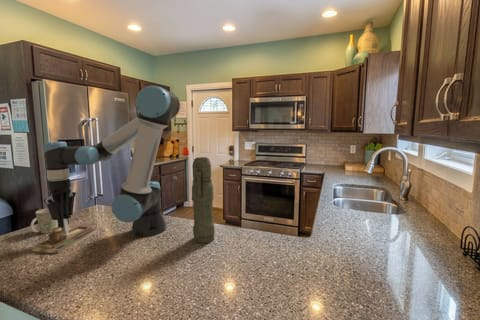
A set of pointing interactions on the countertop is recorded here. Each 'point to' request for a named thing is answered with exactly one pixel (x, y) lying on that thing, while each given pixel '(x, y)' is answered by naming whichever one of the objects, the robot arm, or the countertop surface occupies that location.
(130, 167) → the robot arm
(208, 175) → the green carved statue
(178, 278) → the countertop surface
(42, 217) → the mug
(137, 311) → the countertop surface
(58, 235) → the slider knob
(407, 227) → the countertop surface
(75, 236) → the tuner board
